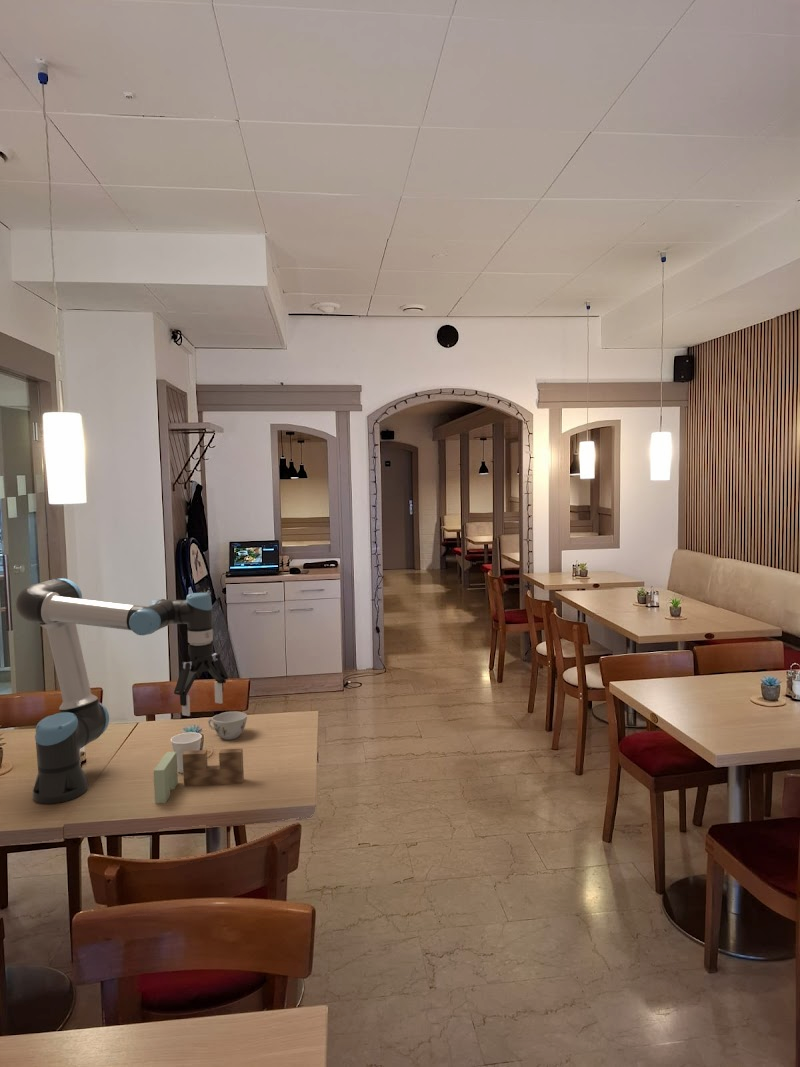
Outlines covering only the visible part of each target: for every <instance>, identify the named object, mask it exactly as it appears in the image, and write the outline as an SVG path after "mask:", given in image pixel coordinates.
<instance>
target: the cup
mask: <svg viewBox="0 0 800 1067" xmlns="http://www.w3.org/2000/svg"><path fill="white" fill-rule="evenodd" d="M202 738H203V735H202V733H199V732H191V731H190V732H183V733H179V734H175V735H174V736H172V737H171V738H170V743H171V748H172V752H177V772H179V773H180V774H183V753H184V751H192V750H201V749H200V748H201V742H202Z"/></svg>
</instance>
